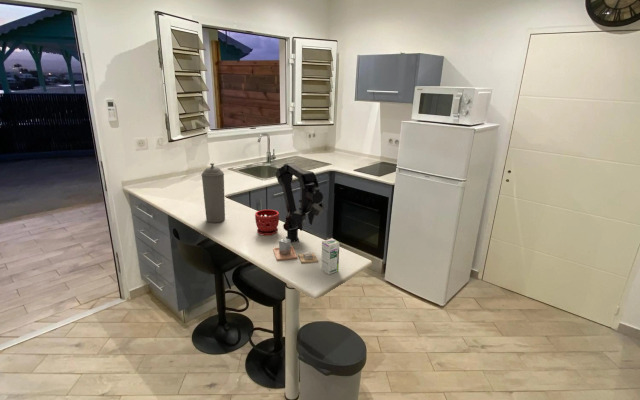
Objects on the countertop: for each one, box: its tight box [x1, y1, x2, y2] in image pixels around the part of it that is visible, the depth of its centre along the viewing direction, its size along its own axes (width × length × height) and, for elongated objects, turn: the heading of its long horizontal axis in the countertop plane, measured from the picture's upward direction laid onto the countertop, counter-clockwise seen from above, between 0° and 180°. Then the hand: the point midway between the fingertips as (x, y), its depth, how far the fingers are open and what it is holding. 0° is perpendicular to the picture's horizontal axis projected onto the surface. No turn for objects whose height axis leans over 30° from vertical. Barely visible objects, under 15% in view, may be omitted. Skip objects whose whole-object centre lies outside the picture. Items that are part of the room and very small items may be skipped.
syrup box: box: [320, 237, 340, 275], centre depth 157 cm, size 6×6×14 cm
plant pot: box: [254, 209, 280, 237], centre depth 196 cm, size 13×13×12 cm
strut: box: [278, 237, 292, 256], centre depth 172 cm, size 4×4×7 cm
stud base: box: [297, 251, 319, 264], centre depth 169 cm, size 8×8×2 cm
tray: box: [272, 245, 298, 261], centre depth 173 cm, size 12×10×1 cm
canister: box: [201, 162, 226, 224], centre depth 207 cm, size 13×13×35 cm
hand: (306, 227), depth 174 cm, fingers open, 9 cm apart
